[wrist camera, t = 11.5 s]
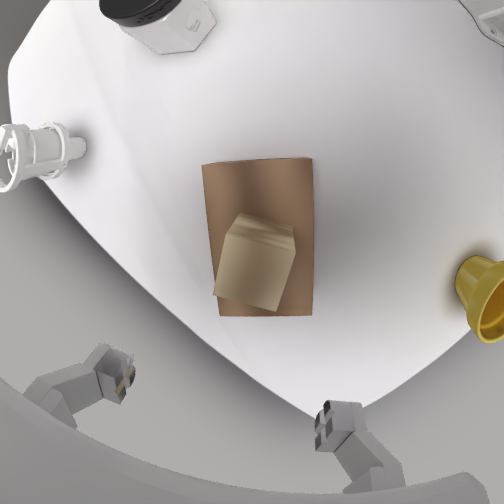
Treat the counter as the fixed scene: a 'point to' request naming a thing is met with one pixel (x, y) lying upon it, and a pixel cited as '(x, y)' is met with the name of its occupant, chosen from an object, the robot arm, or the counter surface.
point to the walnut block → (268, 207)
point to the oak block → (255, 262)
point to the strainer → (38, 151)
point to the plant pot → (483, 296)
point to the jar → (162, 22)
